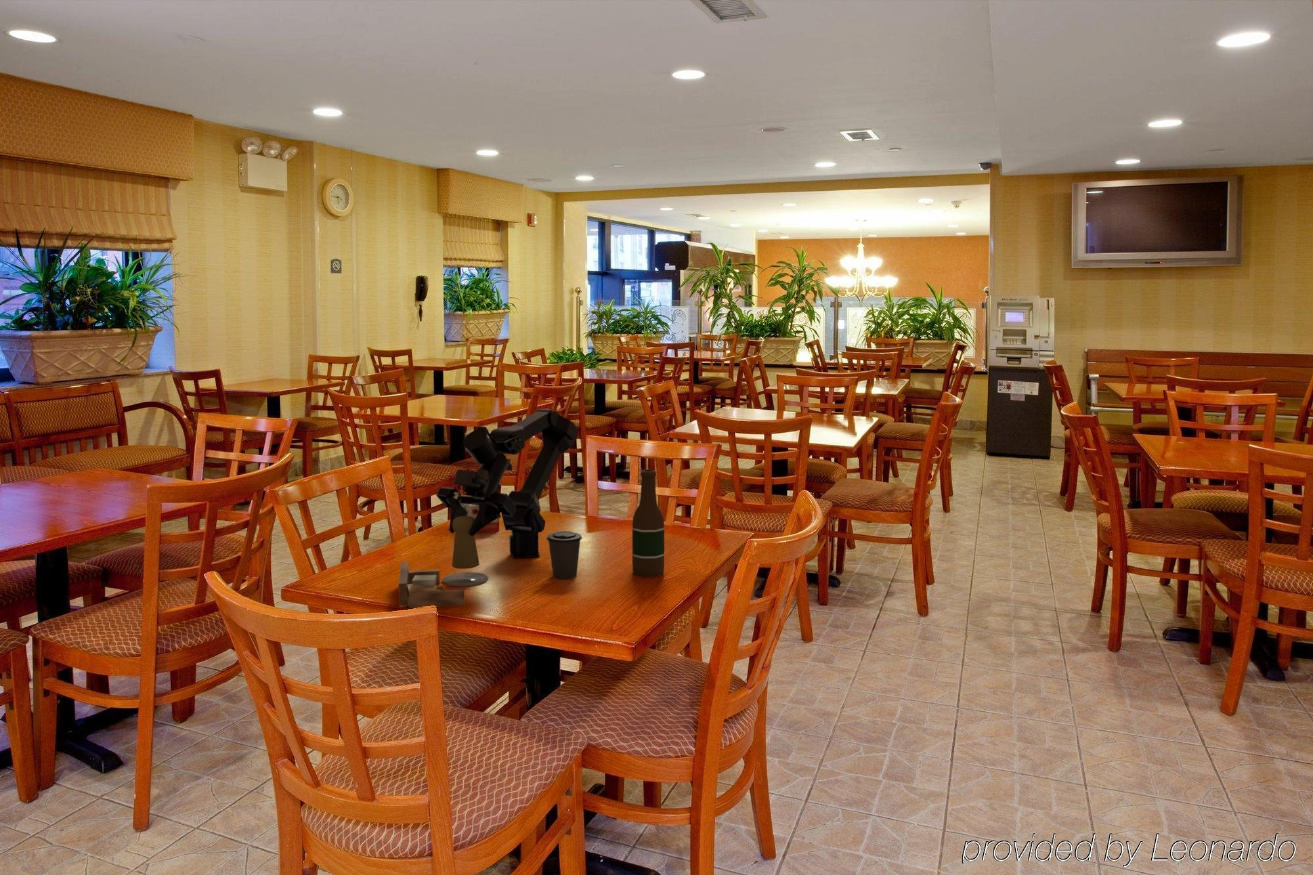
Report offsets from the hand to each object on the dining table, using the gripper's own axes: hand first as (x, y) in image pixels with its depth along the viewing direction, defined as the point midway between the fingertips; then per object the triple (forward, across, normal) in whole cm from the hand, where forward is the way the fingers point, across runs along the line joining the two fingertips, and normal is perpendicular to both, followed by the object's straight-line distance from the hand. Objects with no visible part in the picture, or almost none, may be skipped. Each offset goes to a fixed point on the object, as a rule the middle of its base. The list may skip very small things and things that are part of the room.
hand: (460, 533), depth 212 cm
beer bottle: (-9, +34, +26) cm, 44 cm away
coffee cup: (-2, +18, +18) cm, 26 cm away
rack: (+15, 0, +1) cm, 15 cm away
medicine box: (-22, -28, +39) cm, 53 cm away
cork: (+4, 0, +6) cm, 8 cm away
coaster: (+7, 0, +8) cm, 11 cm away
